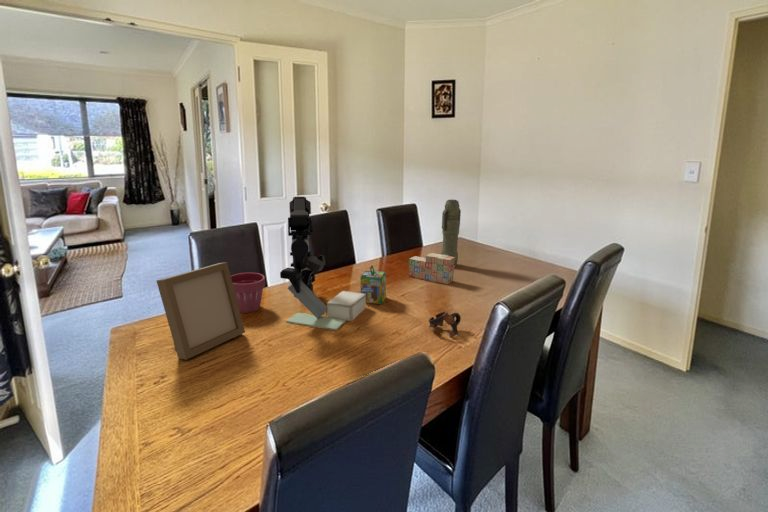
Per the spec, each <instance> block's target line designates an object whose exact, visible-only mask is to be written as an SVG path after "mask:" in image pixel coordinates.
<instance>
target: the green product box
mask: <svg viewBox="0 0 768 512" xmlns="http://www.w3.org/2000/svg"><path fill="white" fill-rule="evenodd" d="M386 275H387V273H386V271H379V270H375V268H374V266H373V264H371V265H370V267H369V270H364V272H363V273H362V274H361V275H360V277H359V278H360V293H364V294H366V304H375V305H376V304H377V305H383V303H384V301H385V300H386V296H387V294H386V293H387V289H386V288H387V287H386V286H387V283H386V282H387V276H386Z"/></svg>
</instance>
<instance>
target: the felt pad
mask: <svg viewBox="0 0 768 512" xmlns="http://www.w3.org/2000/svg"><path fill="white" fill-rule="evenodd" d="M346 321H347V320H342V319H336V318H329V317H328V316H324V315H322V316H321V317H319V318H318V319H317V318H316V317H315V316H314V315H313V314H309V313H304V312H303V313H302V312H296V313H295V314H294V315H292V316H291V317H290V318H288V319H287V320H286V323H289V324H295V325H302V326H307V327H314V328H319V329H325V330H330V331H337V330H339V329H340V328H341V325H342V324H343V325H344V324H345V323H346ZM343 325H342V326H343Z"/></svg>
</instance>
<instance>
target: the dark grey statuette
mask: <svg viewBox="0 0 768 512" xmlns="http://www.w3.org/2000/svg"><path fill="white" fill-rule="evenodd" d="M461 213H462V212H461V208H460V202H459V200H457V199H447V200H446V202H445V204H444V210H443V211H442V219H441V229H442V232H441V233H442V250H441V252H440V254H441V255H448V256H451V257H455V261H454V266H456V267H458V261H459V260H458V258H459V253H458V244H459V243H458V242H459V234H460V226H461Z"/></svg>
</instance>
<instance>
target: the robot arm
mask: <svg viewBox="0 0 768 512" xmlns="http://www.w3.org/2000/svg"><path fill="white" fill-rule="evenodd" d="M311 205H312V204H311V201H309V200H308V199H307V197H306V196H294V197H292V200H291V201H290V202H289V216H288V218H287V235H288V237H290V236H291V244H290V251H291V252H289V256H291V257H292V262H291V263H290V267H286V268H284V269H282V270H281V271H280V272H279V274H280V279H284V280H288V281H289V282H290V283H291V284H292V285H293V287H294V289H295V291H296V292H297V293H300V287H301V281H302V282H303V283H304V284H305V285H306V286H307V287H308V288H309V289H310V290H311V291H312V292H313V293H314V294H315V292H314V284H313V283H314V282H315V281H316V273H319V272H320V271H322V270H323V268H324V266H326V259H325V258H326V257H325V256H324V255H322V254H320V255H318V256H313V251H311V250H310V247H309V246H310V245H309V236H312V233H313V220H312V217H310V215H311V214H312V206H311Z"/></svg>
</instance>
